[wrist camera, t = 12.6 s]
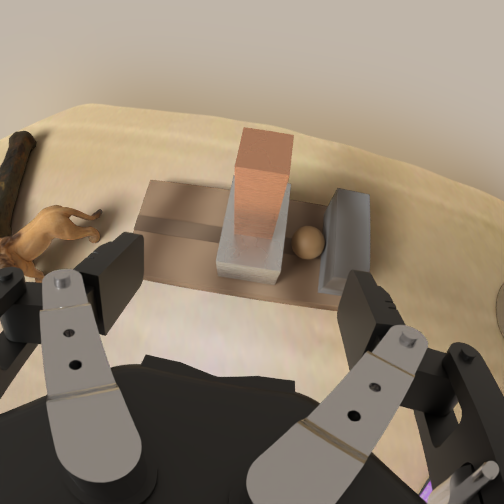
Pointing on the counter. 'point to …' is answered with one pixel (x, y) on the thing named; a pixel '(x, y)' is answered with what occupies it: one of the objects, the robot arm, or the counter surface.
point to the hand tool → (13, 176)
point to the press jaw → (257, 208)
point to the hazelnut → (308, 242)
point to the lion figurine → (43, 238)
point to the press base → (293, 267)
